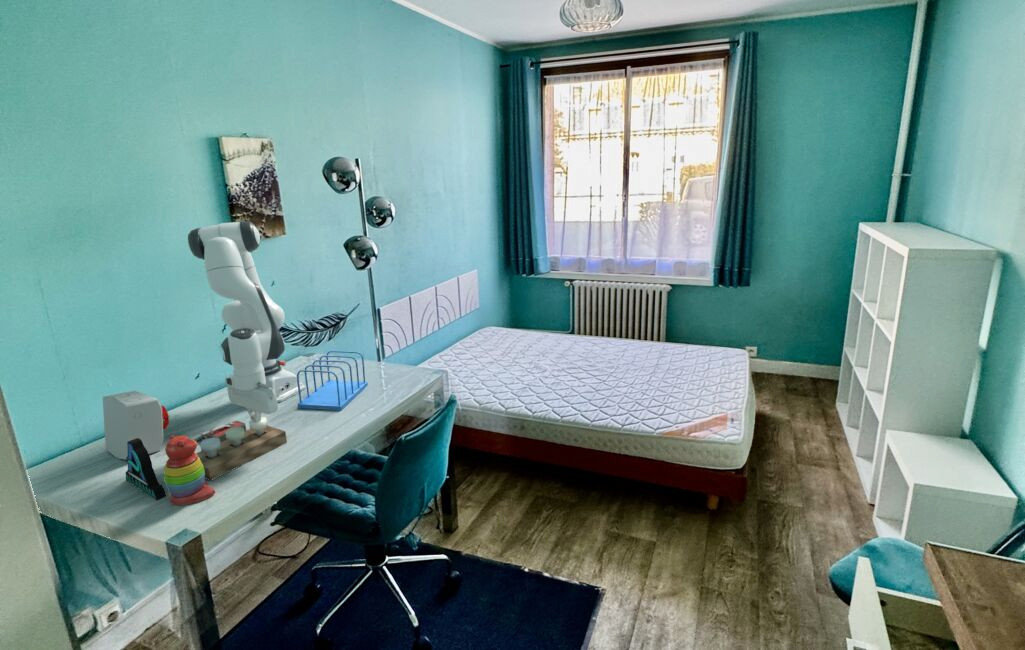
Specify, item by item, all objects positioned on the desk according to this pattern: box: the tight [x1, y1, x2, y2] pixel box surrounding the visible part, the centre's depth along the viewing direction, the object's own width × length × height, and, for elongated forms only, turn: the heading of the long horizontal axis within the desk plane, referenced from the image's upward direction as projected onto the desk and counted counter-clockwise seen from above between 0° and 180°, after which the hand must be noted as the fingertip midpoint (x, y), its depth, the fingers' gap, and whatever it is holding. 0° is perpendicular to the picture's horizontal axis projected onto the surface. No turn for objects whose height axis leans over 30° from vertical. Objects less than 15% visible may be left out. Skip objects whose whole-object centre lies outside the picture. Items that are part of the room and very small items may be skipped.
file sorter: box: [296, 350, 369, 411], centre depth 210 cm, size 25×17×15 cm
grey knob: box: [199, 438, 221, 459], centre depth 160 cm, size 5×5×5 cm
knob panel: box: [195, 425, 288, 481], centre depth 168 cm, size 26×12×4 cm, turn 150°
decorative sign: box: [125, 438, 167, 502], centre depth 150 cm, size 19×2×15 cm, turn 56°
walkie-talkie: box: [192, 420, 247, 442], centre depth 179 cm, size 9×4×20 cm
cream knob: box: [248, 416, 269, 437], centre depth 173 cm, size 5×5×5 cm
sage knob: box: [225, 427, 245, 448], centre depth 167 cm, size 5×5×5 cm
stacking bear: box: [163, 434, 216, 506], centre depth 145 cm, size 11×10×18 cm
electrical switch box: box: [102, 390, 170, 461], centre depth 173 cm, size 15×15×20 cm
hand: (256, 420), depth 172 cm, fingers closed
